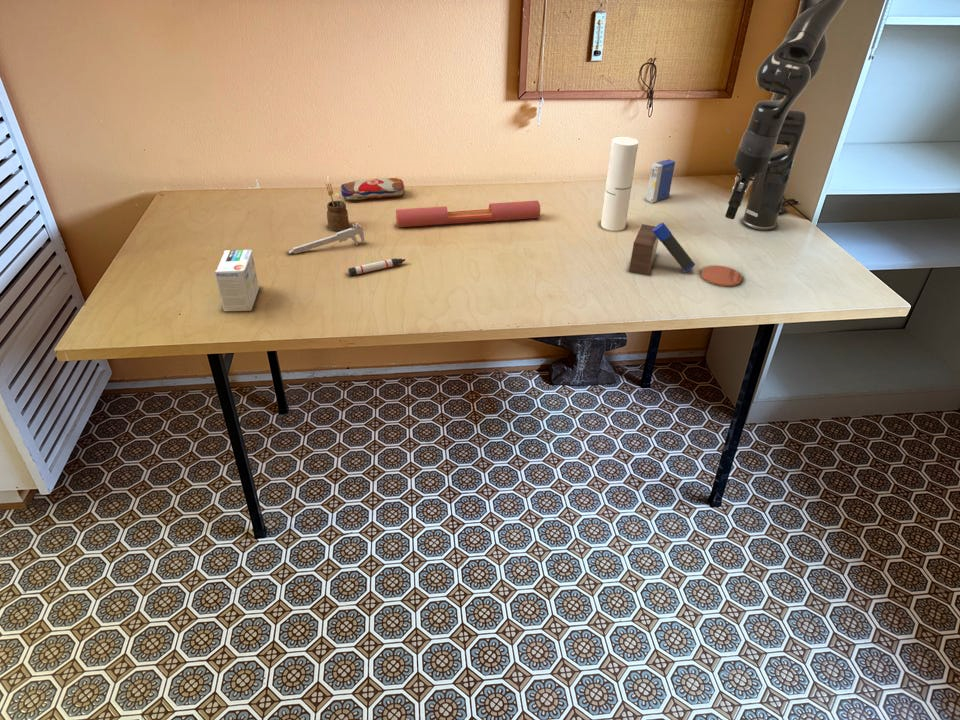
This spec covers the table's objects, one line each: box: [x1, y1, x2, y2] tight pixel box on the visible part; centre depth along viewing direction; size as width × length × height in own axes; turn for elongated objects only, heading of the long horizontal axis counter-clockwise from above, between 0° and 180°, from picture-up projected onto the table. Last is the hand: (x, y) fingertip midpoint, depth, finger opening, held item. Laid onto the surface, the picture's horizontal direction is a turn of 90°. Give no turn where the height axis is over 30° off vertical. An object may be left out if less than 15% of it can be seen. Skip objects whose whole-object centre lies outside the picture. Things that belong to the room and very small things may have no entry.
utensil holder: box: [325, 182, 350, 232], centre depth 198 cm, size 6×6×12 cm
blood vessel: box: [395, 200, 541, 228], centre depth 205 cm, size 42×5×5 cm, turn 101°
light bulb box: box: [214, 249, 260, 312], centre depth 165 cm, size 11×7×11 cm, turn 5°
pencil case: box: [339, 177, 406, 201], centre depth 218 cm, size 11×20×5 cm, turn 89°
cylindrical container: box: [600, 136, 639, 232], centre depth 199 cm, size 7×7×25 cm
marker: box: [347, 257, 406, 276], centre depth 181 cm, size 15×2×2 cm, turn 117°
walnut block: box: [628, 223, 660, 276], centre depth 185 cm, size 12×5×8 cm, turn 159°
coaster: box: [701, 265, 743, 287], centre depth 182 cm, size 10×10×1 cm
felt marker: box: [652, 222, 696, 273], centre depth 182 cm, size 3×12×12 cm, turn 70°
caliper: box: [288, 222, 365, 255], centre depth 189 cm, size 20×1×6 cm, turn 110°
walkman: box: [645, 158, 676, 204], centre depth 219 cm, size 8×3×12 cm, turn 127°
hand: (732, 210), depth 172 cm, fingers open, 8 cm apart
